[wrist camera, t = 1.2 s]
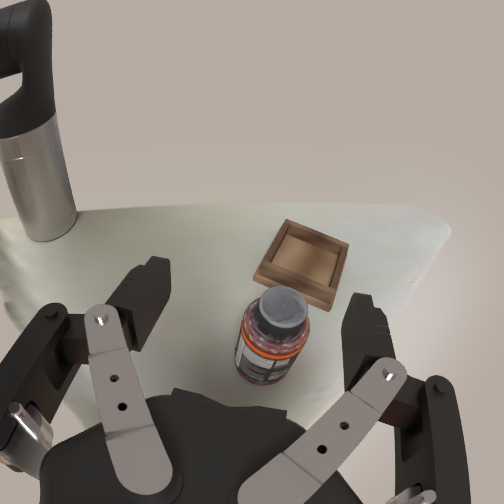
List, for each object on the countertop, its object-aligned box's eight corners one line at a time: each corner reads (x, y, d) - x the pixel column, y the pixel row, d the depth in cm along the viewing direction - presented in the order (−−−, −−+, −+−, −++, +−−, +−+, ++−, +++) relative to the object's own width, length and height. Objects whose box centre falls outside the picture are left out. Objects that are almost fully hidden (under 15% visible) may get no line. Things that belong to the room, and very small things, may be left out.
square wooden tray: (252, 280, 40) (256, 264, 38) (280, 231, 47) (284, 216, 45) (328, 312, 39) (337, 298, 36) (345, 257, 46) (352, 243, 43)
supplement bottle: (260, 328, 36) (281, 263, 28) (299, 362, 33) (335, 307, 25) (221, 359, 32) (231, 300, 24) (261, 398, 30) (288, 353, 22)
